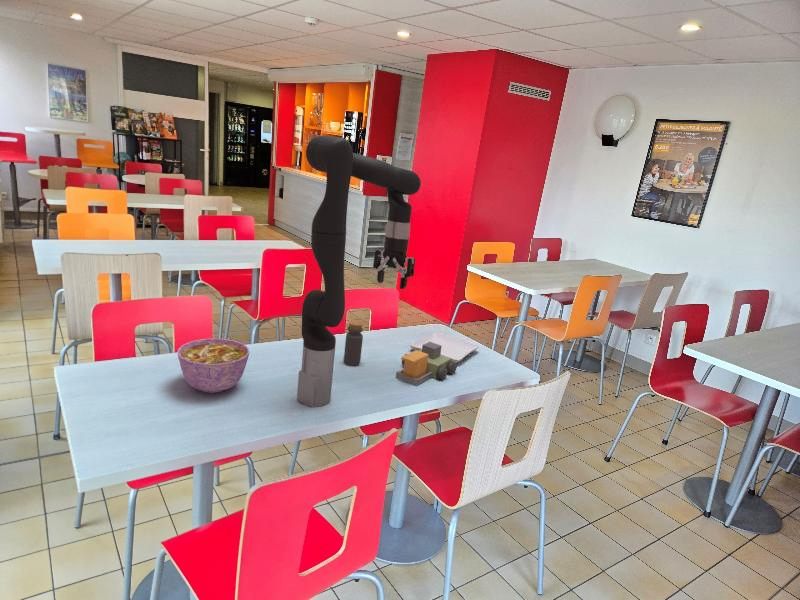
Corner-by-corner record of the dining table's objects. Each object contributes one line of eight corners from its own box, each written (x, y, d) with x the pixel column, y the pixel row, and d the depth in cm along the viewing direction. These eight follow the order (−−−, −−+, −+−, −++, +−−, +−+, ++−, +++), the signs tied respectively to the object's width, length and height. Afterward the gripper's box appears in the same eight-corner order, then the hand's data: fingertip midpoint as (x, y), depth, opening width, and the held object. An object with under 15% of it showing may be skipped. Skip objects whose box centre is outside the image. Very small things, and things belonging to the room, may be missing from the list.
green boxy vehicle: (426, 389, 174) (430, 364, 172) (386, 374, 182) (389, 349, 180) (455, 372, 191) (459, 349, 189) (417, 358, 199) (420, 336, 197)
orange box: (411, 383, 176) (414, 361, 174) (398, 379, 179) (401, 356, 177) (425, 375, 184) (428, 354, 182) (413, 371, 187) (416, 350, 184)
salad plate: (457, 368, 196) (459, 359, 195) (407, 352, 206) (408, 344, 205) (478, 353, 214) (480, 345, 213) (431, 338, 224) (433, 331, 223)
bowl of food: (239, 369, 172) (240, 336, 169) (255, 397, 155) (257, 360, 152) (172, 376, 162) (172, 340, 159) (182, 406, 145) (182, 367, 142)
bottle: (352, 367, 184) (356, 326, 180) (340, 362, 188) (343, 322, 183) (363, 363, 189) (367, 323, 185) (351, 358, 192) (355, 319, 188)
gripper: (371, 232, 167) (366, 282, 171) (409, 240, 160) (403, 292, 164) (385, 230, 173) (380, 279, 177) (422, 239, 166) (416, 289, 170)
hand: (391, 285), depth 171 cm, fingers open, 8 cm apart
